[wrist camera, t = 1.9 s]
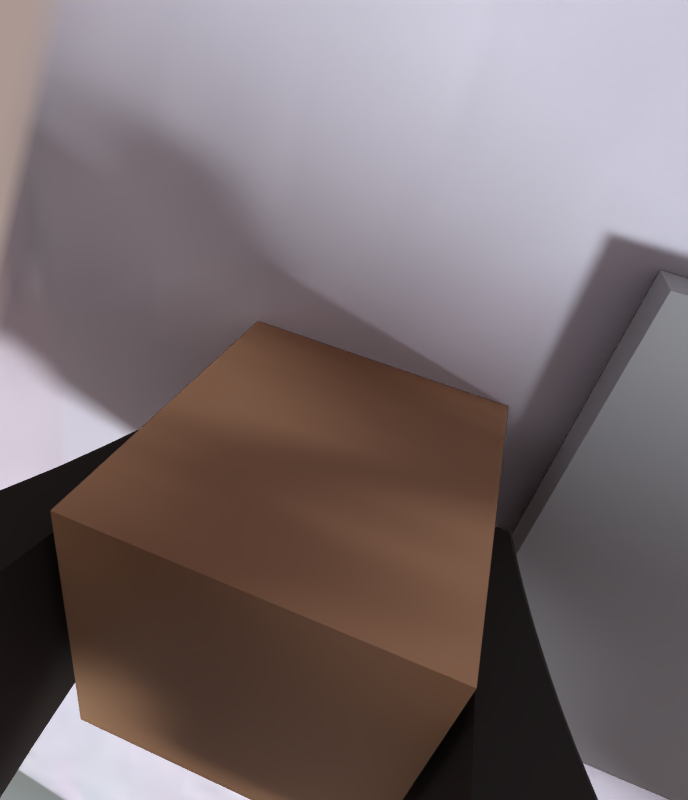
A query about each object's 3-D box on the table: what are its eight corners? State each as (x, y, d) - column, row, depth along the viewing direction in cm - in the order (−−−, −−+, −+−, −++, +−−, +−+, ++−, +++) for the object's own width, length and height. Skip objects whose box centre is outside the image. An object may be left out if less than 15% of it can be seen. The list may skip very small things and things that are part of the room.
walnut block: (508, 406, 9) (476, 688, 5) (429, 576, 12) (365, 853, 8) (257, 321, 10) (50, 511, 6) (235, 499, 12) (80, 719, 8)
